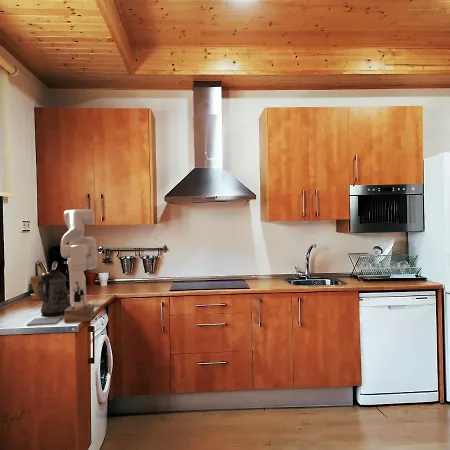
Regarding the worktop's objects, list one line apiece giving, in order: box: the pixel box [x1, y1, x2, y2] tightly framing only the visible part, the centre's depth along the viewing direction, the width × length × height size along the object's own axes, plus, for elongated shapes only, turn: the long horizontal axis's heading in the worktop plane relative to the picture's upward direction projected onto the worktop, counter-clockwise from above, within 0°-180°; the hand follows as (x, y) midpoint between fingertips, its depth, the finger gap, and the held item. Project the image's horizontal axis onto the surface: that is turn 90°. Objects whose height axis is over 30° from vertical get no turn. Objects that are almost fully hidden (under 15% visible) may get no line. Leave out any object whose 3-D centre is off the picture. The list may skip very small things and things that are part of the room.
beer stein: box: [37, 269, 72, 318], centre depth 250 cm, size 16×19×25 cm
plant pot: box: [30, 274, 45, 301], centre depth 303 cm, size 15×15×16 cm
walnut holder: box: [63, 304, 95, 323], centre depth 235 cm, size 13×13×6 cm
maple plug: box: [74, 296, 85, 309], centre depth 235 cm, size 5×5×12 cm
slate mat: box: [26, 316, 63, 327], centre depth 231 cm, size 14×14×1 cm
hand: (79, 300), depth 235 cm, fingers open, 9 cm apart
